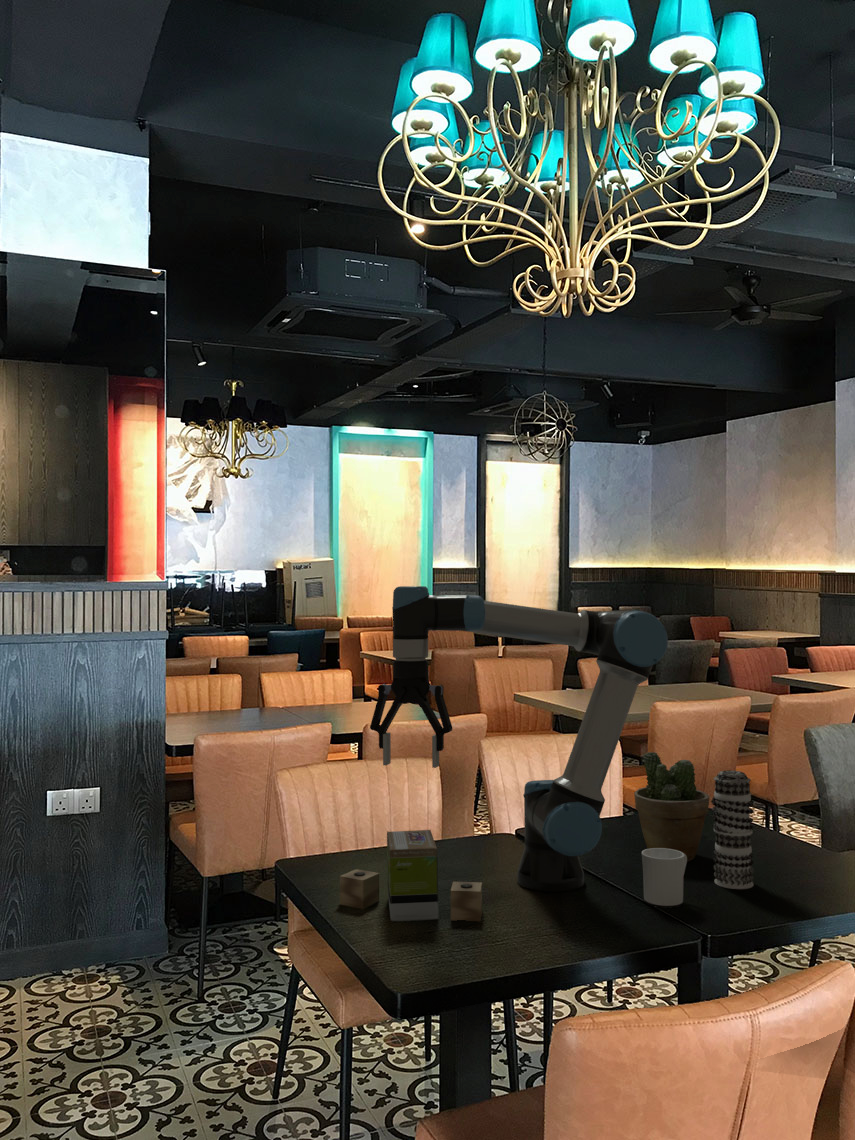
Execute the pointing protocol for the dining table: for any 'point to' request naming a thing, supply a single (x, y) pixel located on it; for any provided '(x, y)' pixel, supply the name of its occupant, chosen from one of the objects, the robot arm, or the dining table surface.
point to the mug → (663, 876)
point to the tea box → (412, 875)
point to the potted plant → (671, 806)
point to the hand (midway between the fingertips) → (411, 765)
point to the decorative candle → (733, 830)
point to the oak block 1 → (359, 888)
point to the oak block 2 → (466, 901)
